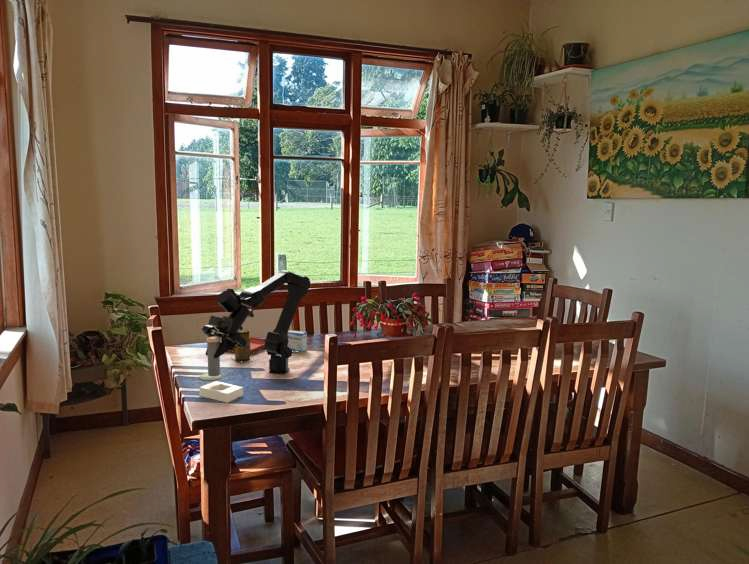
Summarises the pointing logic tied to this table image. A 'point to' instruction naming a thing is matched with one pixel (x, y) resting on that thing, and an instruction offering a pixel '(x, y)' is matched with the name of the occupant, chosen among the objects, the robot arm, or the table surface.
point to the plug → (212, 362)
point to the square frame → (221, 391)
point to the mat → (209, 377)
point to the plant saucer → (255, 344)
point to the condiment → (243, 349)
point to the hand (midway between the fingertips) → (210, 356)
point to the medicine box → (297, 340)
